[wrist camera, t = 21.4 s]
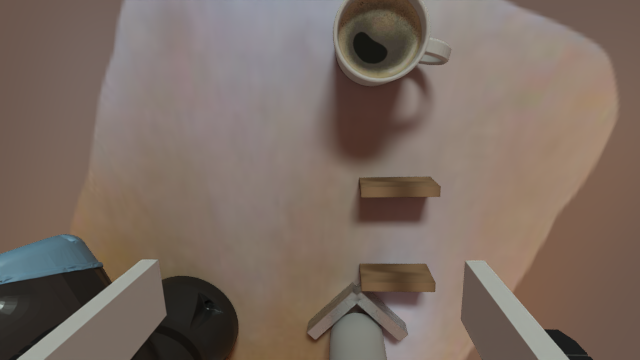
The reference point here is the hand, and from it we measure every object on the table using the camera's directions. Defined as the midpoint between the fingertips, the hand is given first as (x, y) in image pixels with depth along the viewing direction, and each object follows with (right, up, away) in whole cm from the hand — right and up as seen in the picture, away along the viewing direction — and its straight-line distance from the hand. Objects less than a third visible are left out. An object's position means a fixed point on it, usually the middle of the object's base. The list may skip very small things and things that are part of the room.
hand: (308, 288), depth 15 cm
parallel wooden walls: (+10, -2, +31) cm, 33 cm away
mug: (+8, +20, +27) cm, 34 cm away
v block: (+6, -13, +34) cm, 37 cm away
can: (+6, -17, +36) cm, 40 cm away
